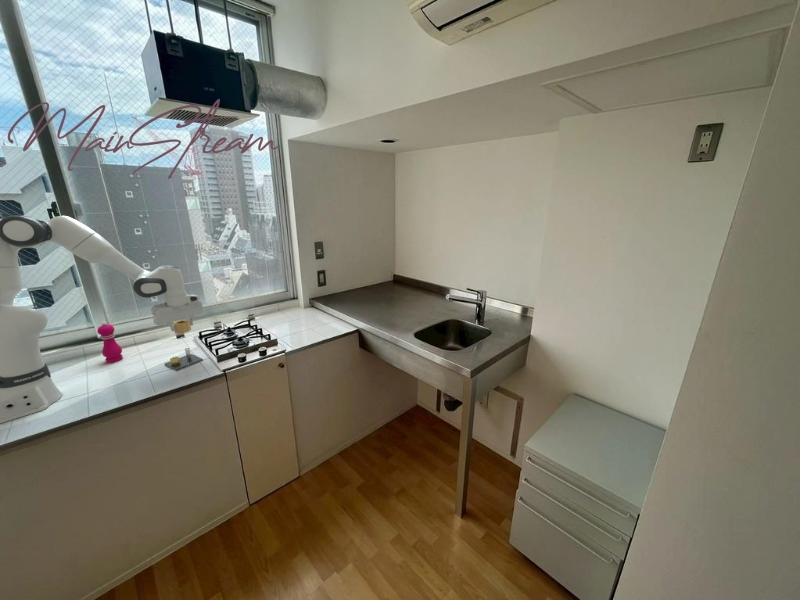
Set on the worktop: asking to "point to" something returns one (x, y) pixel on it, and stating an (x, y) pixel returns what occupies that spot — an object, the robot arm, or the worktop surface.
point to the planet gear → (182, 326)
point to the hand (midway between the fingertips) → (182, 327)
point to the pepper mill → (109, 344)
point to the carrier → (183, 361)
